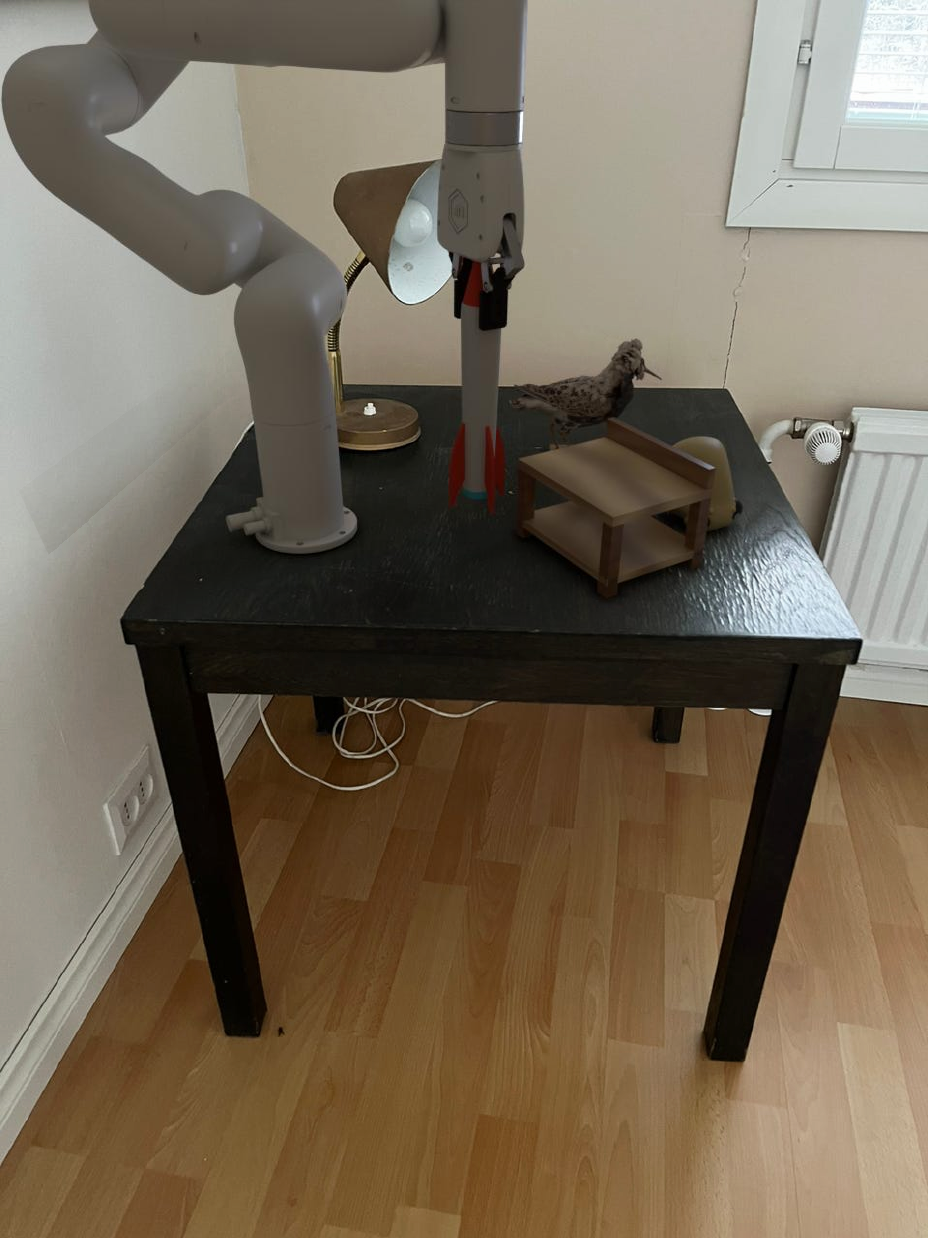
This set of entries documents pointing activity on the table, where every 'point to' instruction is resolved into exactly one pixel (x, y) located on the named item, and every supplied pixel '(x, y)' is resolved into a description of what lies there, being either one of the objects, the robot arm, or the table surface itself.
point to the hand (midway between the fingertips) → (480, 320)
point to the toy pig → (722, 498)
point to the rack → (617, 504)
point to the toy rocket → (478, 406)
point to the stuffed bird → (587, 393)
